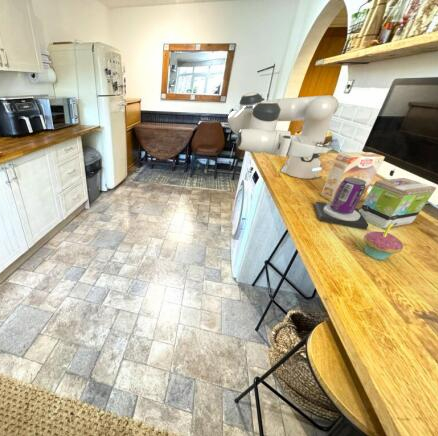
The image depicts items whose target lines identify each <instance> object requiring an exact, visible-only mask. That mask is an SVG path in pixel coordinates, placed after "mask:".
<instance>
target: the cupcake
mask: <svg viewBox="0 0 438 436" xmlns="http://www.w3.org/2000/svg"><path fill="white" fill-rule="evenodd" d="M391 226H392V221H391V223H389V225H388V227H387V228H385V230H384V231H374V230H373V231H370V232H367V233H366V234H364V236H363V242H364V244H365V250H364V253H365V254H366V255H367V256H369V257H371V258H373V259H375V260H379V261H383V260H386V259H387V258H389V257H391V256H392V255H394V254H395V255H396V254H399V253H401V252H402V251H403V249H404V245H403V242H402V241H401V240H400V239H399V238H398V237H396V236H395V235H394V234H391V233H389V231H390V230H391V228H392V227H391Z"/></svg>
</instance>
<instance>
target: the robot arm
mask: <svg viewBox="0 0 438 436" xmlns="http://www.w3.org/2000/svg"><path fill="white" fill-rule="evenodd" d="M339 106H340V105H339V100H338V98H337V97H336V96H334V95H331V94H330V95H329V94H327V95H326V94H325V95H313V96H300V97H299V96H298V97H286V98H274V99H269V100H265V98H264V97H263V96H262V95H261V94H260V93H259V92H253V91H251V92H247V93H245V94H243V95H241V97H240V99H239V108H238V109H236V110H233V111H232V112H230V114H229V115H228V117H227V125H228V127H229V129H230V130H231V131H232V132H233V133H234V134H235V135H237V139H236V148H237V149H238V150H240V151H244V152H248V153H256V154H261V153H262V154H263V153H265V154H268V155H272V156H278V157H279V158H286V161H285V163H286V164H285V165H284V166H283V167H282V168H281V170H280V173H282V174H286V175H288V176H290V177H293V178H299V179H304V180H305V179H310V180H311V179H315V178H320V177H321V176H320V175H321V174H319V173H318V172H319V171H321V170H322V167H321V162H322V161H321V160H320V157H321V155H322V154H328V153H329V150H330V149H329V147H327V146H324V143H325V140H326V138H327V135H328V132H329V129H330V125H331V121H332V118H333V116H334V115H335V114H336V113H337V111H338V109H339ZM298 121H299V122H300V121H303V123H302V127H301V132H300V134H291V132H292V131H290V130H279V129H276V128H277V127H276V126H277V122H298ZM287 157H289V158H287Z"/></svg>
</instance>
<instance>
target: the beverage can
mask: <svg viewBox="0 0 438 436" xmlns="http://www.w3.org/2000/svg"><path fill="white" fill-rule="evenodd" d="M365 184H366V182H365V181H364V180H361V179H357V178H351V177H346V178H344V180H343V181H342V182H341V183H340V185H339V187H338V190H337V192H336V194H335V196H334V198H333V201H332V202H330V203H331V205H330V207H331V208H332V209H333V210H334V211H336V212H338V213H342V214H349V213H353V212H354V210H355V208H357V206H358V203H359V202H360V201H359V200H360V198H361V196H362V194H363V192H364V190H365Z"/></svg>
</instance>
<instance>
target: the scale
mask: <svg viewBox="0 0 438 436" xmlns="http://www.w3.org/2000/svg"><path fill="white" fill-rule="evenodd" d="M331 203H332V202H323V201H315V203H314V205H313V206H314V209H315V212H316V215H317V218H318V221H319V222H324V223H328V224H332V225H333V224H334V225H340V226H344V227H349V228H353V229H354V228H355V229H360V230H365V231H366V230H367V229H368V227H369V222H368V221H366V220H365V219H364V217H363V216H362V214H361V213H360V212H359V210H360V209H358V208H357V207H356V208H355V210H354V212H353V213H349V214H342V213H338V212H336V211H334V210H333V209H332V208H331V207H330V205H331Z"/></svg>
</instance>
